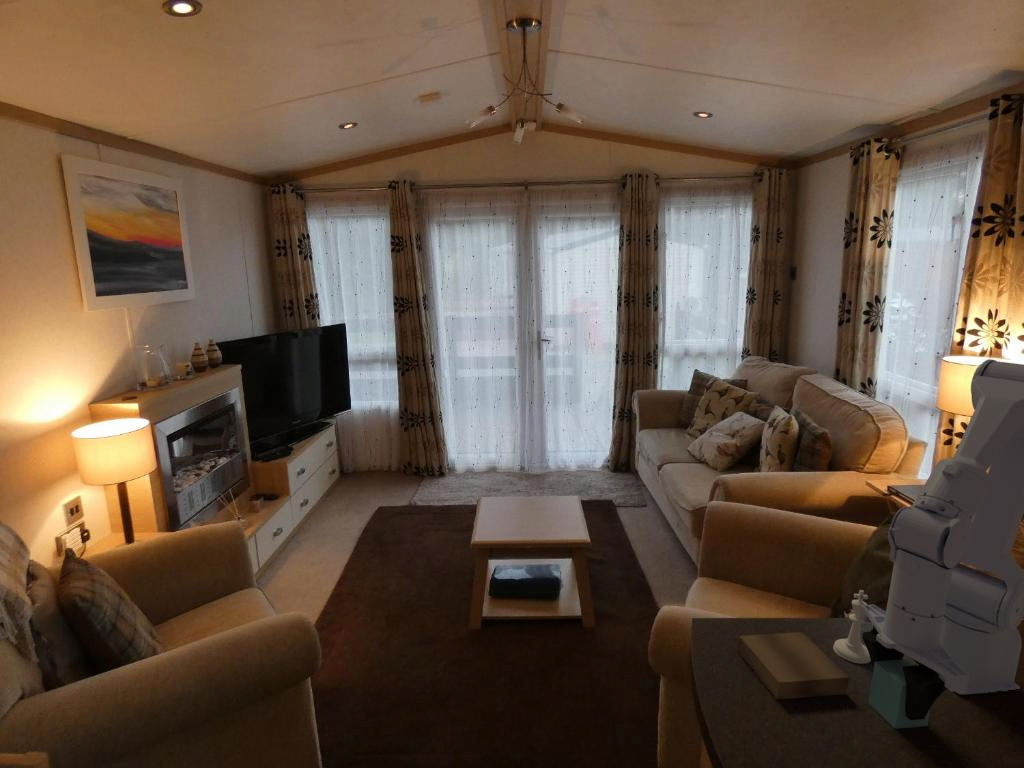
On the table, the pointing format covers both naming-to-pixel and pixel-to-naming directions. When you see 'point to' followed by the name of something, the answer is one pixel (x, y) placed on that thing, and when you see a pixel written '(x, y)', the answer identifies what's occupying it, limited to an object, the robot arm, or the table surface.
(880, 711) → the teal block
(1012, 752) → the table surface
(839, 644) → the chess piece
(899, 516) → the robot arm
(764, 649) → the walnut base
